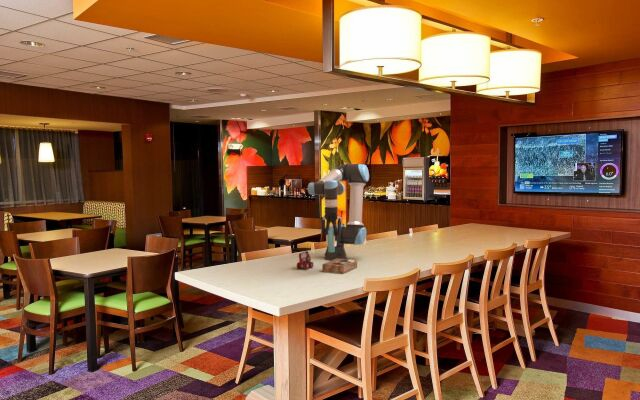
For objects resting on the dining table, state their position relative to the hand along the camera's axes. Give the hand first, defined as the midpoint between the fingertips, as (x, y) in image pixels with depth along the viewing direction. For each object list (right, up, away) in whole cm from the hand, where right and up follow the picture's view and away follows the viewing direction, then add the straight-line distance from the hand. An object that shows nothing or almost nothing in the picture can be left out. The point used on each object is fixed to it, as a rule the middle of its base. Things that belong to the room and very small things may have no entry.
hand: (331, 245), depth 284 cm
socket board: (+5, -15, +8) cm, 18 cm away
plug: (0, -4, 0) cm, 4 cm away
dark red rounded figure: (-16, -15, +13) cm, 26 cm away
